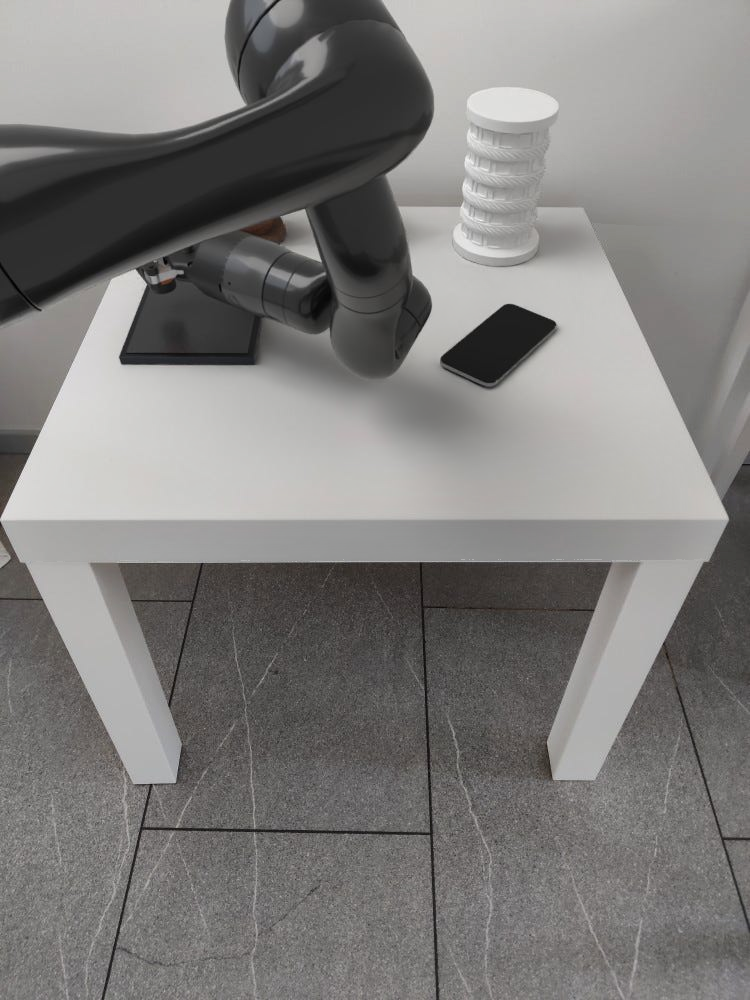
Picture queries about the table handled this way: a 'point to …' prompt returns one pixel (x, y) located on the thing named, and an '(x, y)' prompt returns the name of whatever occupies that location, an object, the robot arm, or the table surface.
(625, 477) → the table surface
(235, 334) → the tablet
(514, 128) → the decorative container
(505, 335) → the smartphone
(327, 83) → the robot arm
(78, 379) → the table surface
